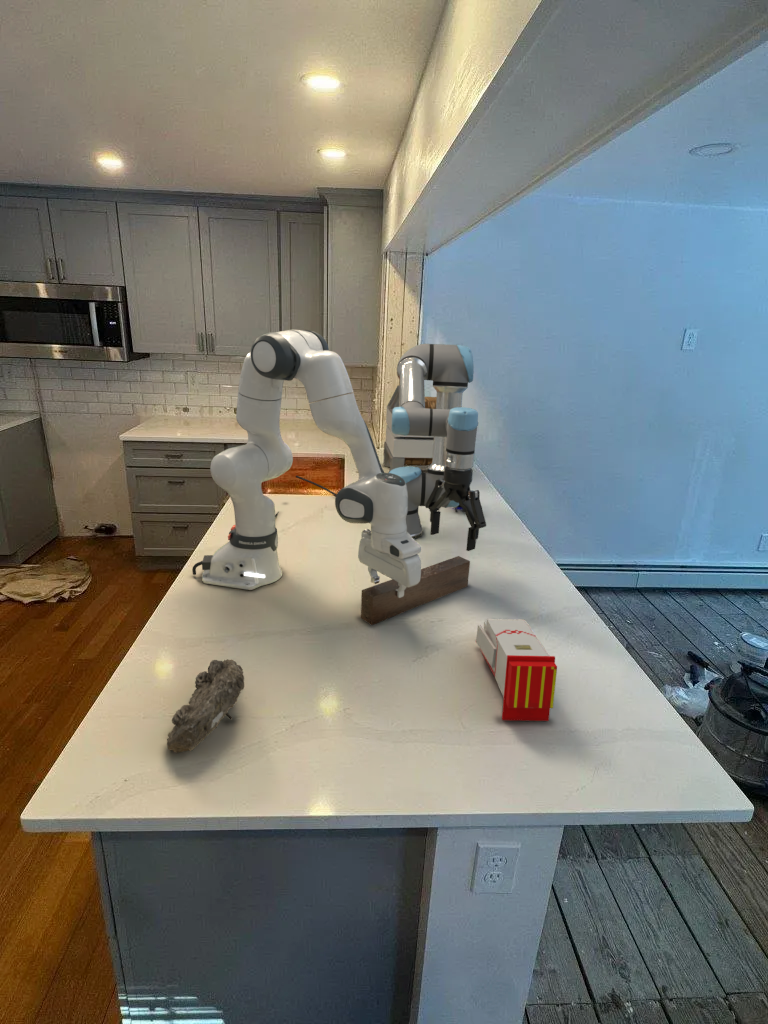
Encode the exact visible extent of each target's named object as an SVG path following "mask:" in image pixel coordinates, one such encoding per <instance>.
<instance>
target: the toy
mask: <svg viewBox="0 0 768 1024" xmlns="http://www.w3.org/2000/svg"><path fill="white" fill-rule="evenodd" d="M476 629H477V631H476V638H475V642H476V645H477V646H478V648H479V650H480V652H481V654H482V656H483V658H484V660H485V661H486V664H487V666H488V668H489V669H490V671H491V672H492V675H493V676H494V679H495V681H496V685H497V686H498V688H499V690H500V692H501V695H502V697H503V701H502V712H501V720H502V721H521V722H523V721H526V722H528V721H529V722H550V712H551V709H554V702H555V692H556V681H557V673H558V665H557V664H556V656H555V655H550V654H549V652H548V651H547V650H546V648H545V647H544V645H543V644H542V642H541V641H540V639H539V638H538V637H537V635H536V634H535V632H534V631H533V629H532V627H531V625H530V624H528V623H527V621H526V619H521V618H518V619H515V618H513V619H512V618H486V620H484V621H483V626H482V625H481V624H477V628H476Z"/></svg>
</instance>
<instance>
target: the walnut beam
mask: <svg viewBox="0 0 768 1024" xmlns="http://www.w3.org/2000/svg"><path fill="white" fill-rule="evenodd" d="M470 568H471V561H470V560H468V559H466V558H464V557H463V556H460V555H457V556H454V557H452V558H449V559H446V560H443V561H440V562H437V563H434V564H431V565H429V566H426V567H423V568H421V578H420V582H419V583H418V584H417V585H414V586H412V587H406V589H405V590H404V596H403V597H401V598H399V597H397V596H395V590H396V589H398V588H399V587H400V586H398V582H397V581H395V580H393V579H389V580H385V581H384V582H379V583H377V584H374V585H372V586H369V587H366V588H364V589H361V595H360V596H361V599H360V619H361V620H363V621H365V622H366V623H367V624H369V625H371V626H374V625H377V624H379V623H381V622H383V621H384V622H385V621H386V620H388V619H392V618H393V617H396V616H398V615H401V614H404V613H406V612H408V611H410V610H413V609H416V608H418V607H420V606H423V605H425V604H428V603H430V602H432V601H435V600H437V599H440V598H442V597H445V596H447V595H450V594H452V593H454V592H457V591H459V590H462V589H465V588H467V587H468V585H469V576H470Z"/></svg>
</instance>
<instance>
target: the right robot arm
mask: <svg viewBox="0 0 768 1024" xmlns="http://www.w3.org/2000/svg"><path fill="white" fill-rule="evenodd" d="M474 368H475V367H474V356H473V352H472V349H471V347H469V346H467V345H463V344H462V345H461V344H443V343H439V344H438V343H419V344H417V345H415V346H412V347H411V348H409V349H408V350H407V351H405V352H404V353H403V355H401V357H400V358H399V360H398V362H397V365H396V376H397V378H398V380H399V385H400V390H399V407H395V408H393V410H392V428H391V430H392V433H394V434H399V435H404V436H407V435H413V436H434V443H433V459H432V464H431V465H428V466H427V469H426V472H422V469H421V468H420V467H419V466H407V465H404V467H399V468H395V469H393V470H391V471H390V470H389V471H388V473H392V474H395V475H398V476H400V477H401V478H403V479H404V481H405V483H406V486H407V493H408V512H407V515H406V525H407V532H408V533H409V534H410V536H411V537H412V538H413V539H414V540H415V539H418V538H420V537H421V536H422V535H423V525H422V524H421V518H420V515H419V507H425V509H428V510H429V512H430V513H429V514H430V515H429V522H430V535H431V536H433V535H435V536H436V535H437V534H439V533H440V526H441V525H440V524H441V511H440V510H441V508H445V509H447V508H453V507H457V506H458V505H460V506H462V508H463V510H464V512H463V513H464V515H465V517H466V519H467V521H468V524H469V525H470V526H469V527H468V530H467V539H466V549H465V551H467V552H471V551H473V550H475V549H476V546H477V545H476V544H477V540H478V539H479V535H480V529H482V528H486V527H487V522H486V519H485V514H484V511H483V507H482V503H481V499H480V496H481V493H480V490H479V489H475V490H473V489H471V484H472V482H473V475H474V470H473V468H474V467H475V466H474V465H475V464H474V463H475V454H476V453H475V451H476V440H477V432H478V426H479V412H478V411H477V410H476V409H474V408H471V407H464V406H463V393H464V392H465V391H466V390H467V389H468V388H469V383H473V381H474V373H475V371H474ZM425 381H430V382H431V381H432V388H433V389H434V390H435V391H436V396H435V397H436V409H427V408H425V397H426V396H425V394H426V393H425V392H426V391H425V390H426V389H425ZM462 406H463V407H462ZM295 478H297V479H299V480H302V481H304V482H307V483H309V484H311V485H314V486H316V487H318V488H320V489H322V490H324V491H326V492H328V493H330V494H331V495H333V496H334V497H336V495H337V493H335V492H334V491H332V490H330V489H328V488H327V487H324V486H323V485H320V484H319V483H316V482H314V481H311V480H309V479H306V478H305V477H301V476H299V475H295ZM464 500H466V501H464Z"/></svg>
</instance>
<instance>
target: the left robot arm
mask: <svg viewBox="0 0 768 1024" xmlns="http://www.w3.org/2000/svg"><path fill="white" fill-rule="evenodd" d="M327 342H328V341H326V339H325V338H324V337H323V336H322V335H321V334H320V333H318V332H316V331H313V330H310V329H285V330H281V331H276V332H275V331H269V332H267V333H264V334H261V335H259V336H258V337H257V338H255V340H254V341H253V343H252V344H251V346H250V347H251V348H250V352H248V353H247V354H246V356H245V357H244V359H243V363H242V366H241V370H240V375H239V380H238V390H237V402H236V411H235V413H236V414H235V418H236V423H237V424H238V425H239V426H240V427H241V428H242V429H243V430H244V431H246V433H247V442H246V444H242V445H238V446H233V447H229V448H227V449H224V450H223V451H220V453H218V454H216V455H214V456H213V457H212V460H211V462H210V467H209V469H210V475H211V478H212V480H213V482H214V483H215V484H216V485H217V486H218V487H219V488H220V489H222V490H224V491H225V492H226V493H227V494H228V496H229V498H230V500H231V503H232V506H233V512H234V524H233V525H232V527H231V528H230V530H229V532H228V535H227V542H226V543H225V544H223V545H222V546H221V547H219V548H218V549H217V550H216V551H215V552H214V553H213V554H212V555H211V554H209V555H208V554H206V555H203V558H202V560H201V561H198V562H196V563H195V564H194V565H193V566H192V567H191V569H192V571H191V572H192V576H197V568H198V567H200V566H201V568H202V569H201V570H202V571H203V572H202V574H201V581H202V582H203V583H204V584H208V585H212V586H213V585H214V586H221V587H227V588H233V589H241V590H247V591H248V590H249V591H252V590H255V589H257V588H260V587H262V586H266V585H270V584H273V583H275V582H277V581H279V580H280V579H281V578H282V576H283V571H282V567H281V565H280V560H279V554H278V547H279V535H278V529H277V527H276V518H275V515H276V506H275V502H274V501H273V500H272V499H271V498H270V497H268V496H266V495H264V493H263V488H262V483H265V482H267V481H270V480H274V479H277V478H279V477H280V476H282V475H284V474H285V473H287V472H288V471H289V470H290V469H291V467H293V466H292V465H293V461H294V456H293V452H292V449H291V448H290V445H288V444H287V443H286V442H285V441H284V439H283V437H282V433H281V426H280V423H281V421H280V420H281V410H282V409H281V408H282V399H283V388H284V382H285V381H286V382H288V381H289V382H292V380H293V379H296V380H297V381H300V383H301V384H302V385H303V387H304V391H305V393H306V398H307V401H308V405H309V409H310V413H311V416H312V419H313V421H314V423H315V425H316V427H317V429H319V430H320V431H322V433H324V434H326V435H328V436H331V437H334V438H337V439H339V440H341V441H342V442H344V443H345V444H346V445H347V447H348V448H349V450H350V453H351V456H352V458H353V462H354V464H355V468H356V471H357V473H358V480H356V481H355V482H352V483H349V484H348V485H346V486H344V487H342V488H341V489H340V490H338V491H337V493H336V494H337V495H336V496H335V499H334V505H335V506H334V507H335V510H336V512H337V514H338V516H339V517H340V518H341V519H342V520H343V521H344V522H346V523H350V524H361V525H363V524H370V528H369V529H368V528H365V529H364V530H362V532H361V534H360V535H361V537H360V540H359V544H358V553H357V558H358V561H359V562H360V563H361V564H363V565H365V566H367V571H368V573H369V575H370V583H372V584H373V585H378V584H380V583H381V582H380V579H381V576H380V575H379V574H378V573H380V574H381V575H384V576H386V577H387V578H389V579H390V580H392V579H393V580H395V581H397V582H398V586H400V587H399V588H398V589H396V590H395V596H397V597H399V598H401V597H403V596H404V590H405V589H406V587H412V586H414V585H417V584H418V583H419V582H420V578H421V569H422V561H421V557H420V555H419V554H420V553H421V552H422V546H421V544H420V543H419V542H418V541H416V540H415V539H413V538H412V537H411V536H410V534H409V533H408V532H407V525H406V515H407V512H408V493H407V486H406V483H405V481H404V479H403V478H401V477H400V476H398V475H395V474H392V473H389V472H385V471H384V469H383V466H382V464H381V461H380V458H379V455H378V452H377V450H376V447H375V444H374V441H373V438H372V435H371V433H370V432H371V431H370V429H369V427H368V425H367V423H366V421H365V420H364V418H363V416H362V414H361V411H360V409H359V406H358V403H357V399H356V397H355V393H354V388H353V385H352V382H351V378H350V376H349V373H348V371H347V368H346V365H345V364H344V362H343V359H342V357H341V356H340V354H338V353H337V352H335V351H332V350H330V349H329V345H328V343H327Z"/></svg>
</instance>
